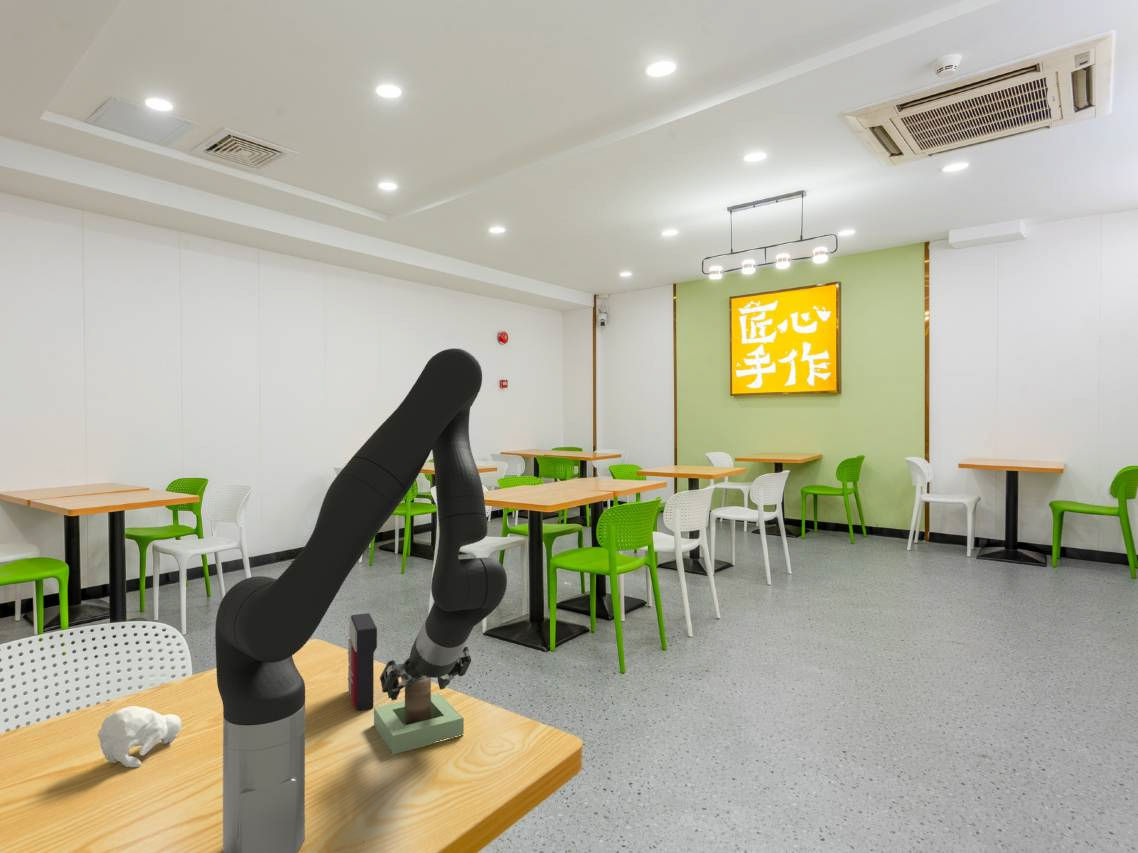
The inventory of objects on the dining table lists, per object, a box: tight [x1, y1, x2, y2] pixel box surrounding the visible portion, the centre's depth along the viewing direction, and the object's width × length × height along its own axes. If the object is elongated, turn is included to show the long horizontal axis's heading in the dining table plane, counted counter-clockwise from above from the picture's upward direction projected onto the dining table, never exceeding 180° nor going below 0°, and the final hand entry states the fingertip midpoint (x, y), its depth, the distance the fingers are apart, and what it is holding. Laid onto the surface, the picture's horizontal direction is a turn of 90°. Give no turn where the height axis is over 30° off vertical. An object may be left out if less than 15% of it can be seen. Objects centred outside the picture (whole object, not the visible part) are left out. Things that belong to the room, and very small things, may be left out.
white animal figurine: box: [97, 705, 182, 768], centre depth 101 cm, size 6×8×12 cm
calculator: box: [347, 612, 378, 711], centre depth 122 cm, size 11×4×15 cm, turn 25°
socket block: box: [373, 692, 465, 755], centre depth 109 cm, size 12×12×3 cm
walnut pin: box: [404, 676, 432, 726], centre depth 109 cm, size 4×4×9 cm
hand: (416, 689), depth 109 cm, fingers open, 8 cm apart
